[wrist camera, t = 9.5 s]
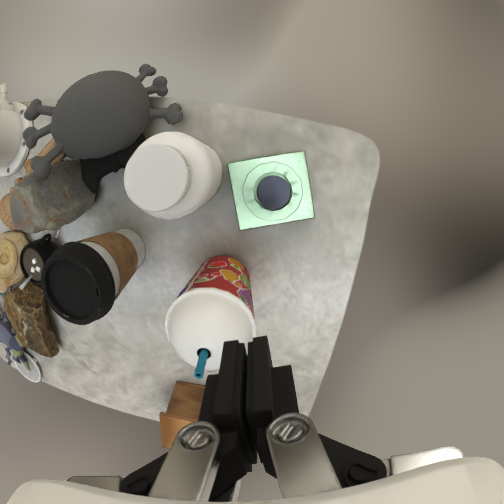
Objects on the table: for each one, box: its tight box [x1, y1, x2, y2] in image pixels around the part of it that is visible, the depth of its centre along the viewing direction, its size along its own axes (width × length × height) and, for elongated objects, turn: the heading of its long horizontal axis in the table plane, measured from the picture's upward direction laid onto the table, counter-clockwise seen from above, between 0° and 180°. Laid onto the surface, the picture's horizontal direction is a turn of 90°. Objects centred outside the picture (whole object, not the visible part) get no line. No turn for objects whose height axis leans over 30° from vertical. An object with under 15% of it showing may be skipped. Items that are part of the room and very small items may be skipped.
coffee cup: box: [41, 229, 145, 325], centre depth 31 cm, size 8×8×15 cm
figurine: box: [0, 138, 65, 230], centre depth 33 cm, size 7×4×20 cm
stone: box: [9, 160, 96, 233], centre depth 30 cm, size 12×8×8 cm
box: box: [166, 381, 205, 419], centre depth 42 cm, size 11×9×8 cm
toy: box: [0, 307, 31, 371], centre depth 41 cm, size 15×4×15 cm
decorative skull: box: [22, 64, 183, 194], centre depth 28 cm, size 19×12×15 cm
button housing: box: [227, 151, 315, 230], centre depth 34 cm, size 9×8×4 cm
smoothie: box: [164, 256, 257, 379], centre depth 29 cm, size 8×8×20 cm
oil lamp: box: [0, 231, 29, 292], centre depth 34 cm, size 11×14×5 cm
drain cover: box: [13, 352, 41, 382], centre depth 44 cm, size 8×8×1 cm
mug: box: [19, 228, 60, 290], centre depth 34 cm, size 12×6×8 cm, turn 148°
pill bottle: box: [124, 132, 223, 219], centre depth 28 cm, size 8×8×15 cm
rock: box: [3, 282, 59, 358], centre depth 38 cm, size 14×6×10 cm
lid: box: [160, 412, 198, 449], centre depth 37 cm, size 12×9×1 cm
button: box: [256, 175, 291, 210], centre depth 31 cm, size 4×4×2 cm
